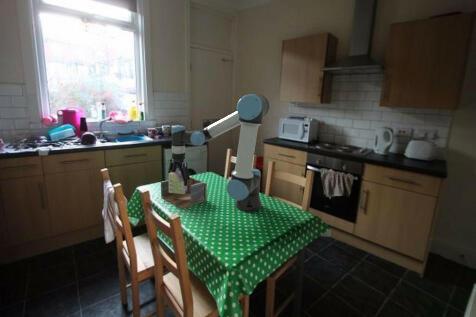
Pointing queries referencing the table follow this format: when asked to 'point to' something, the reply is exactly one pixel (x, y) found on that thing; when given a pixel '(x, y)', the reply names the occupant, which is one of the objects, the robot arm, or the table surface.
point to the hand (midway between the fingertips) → (178, 187)
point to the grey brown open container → (192, 197)
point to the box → (176, 183)
